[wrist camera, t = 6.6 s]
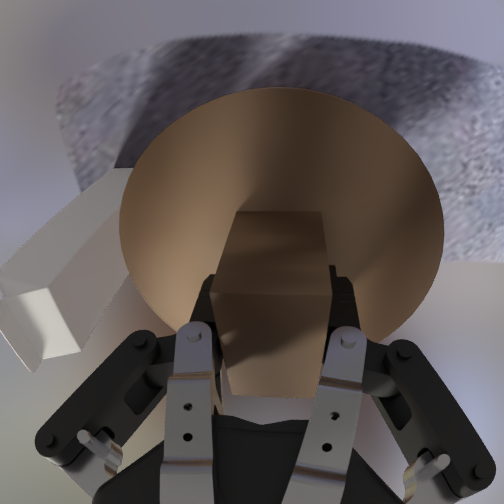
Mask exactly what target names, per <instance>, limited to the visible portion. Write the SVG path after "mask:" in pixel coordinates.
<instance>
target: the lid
mask: <svg viewBox="0 0 504 504" xmlns="http://www.w3.org/2000/svg"><path fill="white" fill-rule="evenodd" d="M119 235H120V243H121V249H122V253H123V257H124V260H125V264H126V267H127V269H128V271H129V273H130V276H131V278H132V280H133V282H134V284H135V286H136V287H137V289H138V291H139V292H140V294H141V295H142V297H143V298H144V299H145V301H146V302H147V303H148V305H149V306H150V307H151V308H152V310H154V312H155V313H156V314H157V315H158V316H159V317H160V318H161V319H162V320H163V321H164V322H166V323H167V324H168V325H169V326H170V327H171V328H173V329H174V330H175V331H177V332H178V330H179V329H180V328H181V327H182V326H183V325H184V324H186V323H189V320H190V317H191V314H192V312H193V309H194V306H195V303H196V300H197V298H198V295H199V292H200V289H201V286H202V284H203V281H204V280H205V279H206V278H207V277H208V276H209V275H210V274H215V276H214V280H213V283H212V286H211V289H210V292H209V293H210V298H211V303H212V308H213V313H214V317H215V322H216V326H217V331H218V335H219V340H220V344H221V349H222V353H223V357H224V362H225V366H226V370H227V374H228V378H229V383H230V387H231V391H232V394H233V395H246V396H260V397H280V398H315V394H316V389H317V385H318V379H319V374H320V369H321V364H322V358H323V352H324V347H325V341H326V335H327V329H328V322H329V316H330V309H331V302H332V288H331V279H330V271H329V265H335V267H336V274H337V277H347V278H348V279H349V280H350V282H351V283H352V284H353V289H354V295H355V299H356V305H357V310H358V316H359V322H360V328H361V331H362V332H363V333H364V334H365V336H366V337H367V338H368V339H369V340H371V341H373V342H375V343H378V342H379V341H381V340H383V339H384V338H386V337H387V336H389V335H390V334H391V333H392V332H394V331H395V330H396V329H397V328H398V327H400V326H401V325H402V324H403V323H404V322H405V321H406V320H407V319H408V318H409V317H410V316H411V315H412V314H413V313H414V312H415V310H416V309H417V308H418V306H419V305H420V304H421V302H422V301H423V300H424V298H425V296H426V295H427V293H428V291H429V289H430V288H431V286H432V284H433V281H434V279H435V276H436V274H437V271H438V269H439V265H440V261H441V257H442V253H443V243H444V220H443V212H442V207H441V203H440V199H439V195H438V192H437V190H436V187H435V185H434V182H433V180H432V177H431V175H430V173H429V172H428V170H427V168H426V167H425V165H424V163H423V162H422V160H421V159H420V157H419V156H418V154H417V153H416V152H415V151H414V150H413V148H412V147H411V146H410V145H409V144H408V143H407V142H406V140H405V139H404V138H403V137H402V136H401V135H399V134H398V133H397V132H396V131H395V130H393V129H392V128H391V127H390V126H389V125H387V124H386V123H385V122H384V121H382V120H381V119H380V118H378V117H377V116H375V115H374V114H372V113H370V112H369V111H367V110H365V109H363V108H362V107H360V106H358V105H356V104H354V103H352V102H350V101H347V100H345V99H342V98H339V97H337V96H334V95H331V94H329V93H324V92H320V91H315V90H310V89H305V88H296V87H264V88H255V89H247V90H243V91H239V92H235V93H231V94H228V95H224V96H221V97H219V98H217V99H214V100H212V101H210V102H207V103H205V104H203V105H201V106H199V107H197V108H195V109H193V110H191V111H190V112H188V113H187V114H185V115H184V116H182V117H181V118H179V119H178V120H176V121H175V122H173V123H172V124H170V125H169V126H168V127H167V128H166V129H165V130H164V131H163V132H161V133H160V134H159V135H158V136H157V137H156V138H155V139H154V140H153V141H152V142H151V144H150V145H149V146H148V147H147V149H146V150H145V151H144V152H143V154H142V155H141V156H140V158H139V159H138V161H137V163H136V165H135V167H134V168H133V170H132V172H131V174H130V176H129V178H128V181H127V184H126V187H125V190H124V193H123V196H122V202H121V207H120V213H119Z"/></svg>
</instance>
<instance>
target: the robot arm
mask: <svg viewBox="0 0 504 504" xmlns="http://www.w3.org/2000/svg"><path fill="white" fill-rule="evenodd" d="M329 271H330V279H331V288H332V302H331V309H330V316H329V322H328V329H327V335H326V341H325V347H324V352H323V358H322V363H324V368H323V372H322V376H321V379H320V382H319V386H318V390H317V394H316V398H315V401H314V405H313V409H312V412H311V416H310V419H309V420H288V421H282V422H277V423H272V424H265V425H259V424H256V423H253V422H249V421H246V420H243V419H240V418H237V417H234V416H227V415H225V414H224V407H223V389H222V372H221V366H222V361H223V359H224V357H223V353H222V349H221V344H220V340H219V335H218V331H217V326H216V322H215V317H214V313H213V308H212V303H211V298H210V293H209V292H210V289H211V286H212V283H213V280H214V276H215V274H210V275H209V276H208V277H207V278H206V279H205V280H204V281H203V284H202V286H201V289H200V292H199V295H198V298H197V300H196V303H195V306H194V309H193V312H192V314H191V317H190V320H189V323H186V324H184V325H183V326H182V327H181V328H180V329H179V330H178V332H177V334H174V335H171V336H166V337H159V338H156V336H155V334H154V333H153V332H151V331H148V330H138V331H135V332H133V333H132V334H130V335H129V336H128V337H127V338H126V339H125V340H124V341H123V342H122V343H121V344H120V345H119V346H118V347H117V348H116V349H115V350H114V351H113V352H112V353H111V354H110V356H108V358H107V359H106V360H105V361H104V362H103V363H102V364H101V365H100V366H99V367H98V368H97V369H96V370H95V371H94V372H93V373H92V374H91V375H90V376H89V377H88V378H87V379H86V380H85V381H84V382H83V383H82V384H81V386H80V387H79V388H78V389H77V390H76V391H75V392H74V393H73V394H72V395H71V396H70V397H69V398H68V399H67V400H66V401H65V402H64V403H63V405H62V406H61V407H60V408H59V409H58V410H57V411H56V412H55V413H54V414H53V415H52V416H51V417H50V419H49V420H48V421H47V422H46V423H45V424H44V425H43V426H42V427H41V428H40V429H39V431H38V432H37V434H36V436H35V447H36V449H37V451H38V452H39V454H41V455H42V456H44V457H45V458H46V459H48V460H49V461H51V462H52V463H53V464H55V465H56V466H58V467H59V468H61V469H62V470H64V471H65V472H66V473H67V474H68V475H69V476H70V477H71V478H72V479H73V480H74V481H75V482H76V483H77V484H78V485H79V486H80V487H81V488H82V489H83V490H84V491H85V492H86V493H88V494H89V495H90V496H91V497H92V498H93V501H92V504H454V503H456V502H458V501H460V500H463V499H465V498H467V497H469V496H471V495H473V494H475V493H477V492H479V491H482V490H483V489H485V488H487V487H488V486H489V485H490V484H491V483H492V481H493V479H494V477H495V474H496V465H495V462H494V460H493V458H492V456H491V455H490V453H489V452H488V450H487V448H486V446H485V445H484V443H483V442H482V440H481V438H480V437H479V435H478V434H477V432H476V430H475V429H474V427H473V426H472V424H471V423H470V421H469V419H468V418H467V416H466V415H465V413H464V412H463V410H462V409H461V407H460V406H459V404H458V403H457V401H456V400H455V399H454V397H453V396H452V394H451V392H450V391H449V390H448V388H447V387H446V385H445V384H444V382H443V381H442V380H441V378H440V377H439V375H438V374H437V372H436V371H435V370H434V368H433V367H432V366H431V364H430V363H429V361H428V360H427V359H426V357H425V356H424V355H423V353H422V352H421V350H420V349H419V348H418V346H417V345H416V344H414V343H413V342H411V341H408V340H403V339H400V340H395V341H393V342H392V343H391V344H390V345H389V346H387V345H383V344H378V343H375V342H373V341H371V340H369V339H368V338H367V337H366V336H365V334H364V333H363V332H362V331H361V328H360V322H359V316H358V310H357V305H356V299H355V295H354V289H353V284H352V283H351V282H350V280H349V279H348V278H347V277H337V274H336V267H335V265H329ZM166 393H167V398H166V415H165V436H164V440H163V441H162V442H160V443H159V444H158V445H156V446H155V447H154V448H153V449H151V450H150V451H149V452H147V453H146V454H145V455H143V456H142V457H140V458H139V459H138V460H136V461H135V462H134V463H132V464H131V465H130V466H128V467H126V468H125V469H124V470H122V471H121V472H120V473H118V474H117V469H118V467H119V466H120V465H121V463H122V458H123V453H122V449H121V447H122V446H123V445H124V444H125V443H126V442H127V440H128V439H129V438H130V437H131V436H132V434H133V433H134V432H135V431H136V430H137V428H138V427H139V426H140V425H141V424H142V422H143V421H144V420H145V419H146V418H147V416H148V415H149V414H150V413H151V412H152V410H153V409H154V408H155V407H156V405H157V404H158V403H159V402H160V401H161V399H162V398H163V397H164V396H165V395H166ZM362 393H366V394H370V395H371V397H372V399H373V400H374V402H375V404H376V406H377V408H378V409H379V411H380V413H381V415H382V417H383V418H384V420H385V422H386V424H387V425H388V427H389V429H390V430H391V433H392V435H393V436H394V438H395V440H396V442H397V444H398V446H399V447H400V449H401V451H402V453H403V455H404V457H405V458H406V460H407V462H408V464H409V466H408V467H407V468H406V470H405V472H404V475H403V483H404V486H405V496H404V499H403V501H402V500H401V499H400V498H399V497H398V496H397V495H396V494H395V493H394V492H393V491H392V490H391V489H390V488H389V487H388V486H387V485H386V484H385V482H384V481H383V480H382V479H381V478H380V477H379V476H378V475H377V474H376V473H375V471H373V469H372V468H371V467H370V466H369V465H368V464H367V463H366V462H365V461H364V460H363V458H362V457H361V456H360V455H359V454H358V453H357V452H356V450H354V448H353V442H354V437H355V432H356V427H357V422H358V416H359V411H360V404H361V399H362Z"/></svg>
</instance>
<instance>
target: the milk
mask: <svg viewBox="0 0 504 504" xmlns="http://www.w3.org/2000/svg"><path fill="white" fill-rule="evenodd" d="M132 170H133V168H113V169H112V170H110V171H109V172H108V173H106V174H105V175H104V176H103V177H101V178H100V179H99V180H97V181H96V182H95V183H93V184H92V185H91V186H90V187H88V188H87V189H86V190H85V191H83V192H82V193H81V194H80V195H79V196H77V197H76V198H75V199H74V200H73V201H71V202H70V203H69V204H68V205H67V206H65V207H64V208H63V209H62V210H61V211H60V212H59V213H57V214H56V215H55V216H54V217H53V218H52V219H51V220H50V221H48V222H47V223H46V224H45V225H44V226H43V227H42V228H41V229H40V230H39V231H38V232H36V233H35V234H34V235H33V236H32V237H31V238H30V239H29V240H28V241H27V242H26V243H25V244H24V245H23V246H22V247H21V248H20V249H19V250H18V251H17V252H16V253H15V254H14V255H13V256H12V257H11V258H10V259H9V260H8V261H7V262H6V263H5V265H3V267H2V268H1V269H0V292H1V294H2V297H3V298H2V300H1V301H0V331H1V333H2V334H3V336H4V337H5V339H6V340H7V342H8V343H9V344H10V346H11V347H12V348H13V350H14V351H15V353H16V354H17V355H18V357H19V358H20V359H21V361H22V362H23V363H24V365H25V366H26V367H27V368H28V370H29V371H30V372H32V373H33V372H35V371H36V369H37V368H38V366H39V364H40V363H41V361H42V360H43V359H46V358H51V357H57V356H61V355H66V354H71V353H76V352H80V351H82V349H83V348H84V346H85V344H86V342H87V341H88V339H89V337H90V335H91V333H92V332H93V330H94V328H95V327H96V325H97V323H98V322H99V320H100V318H101V317H102V315H103V313H104V312H105V310H106V308H107V307H108V305H109V304H110V302H111V300H112V299H113V297H114V296H115V294H116V292H117V291H118V289H119V288H120V286H121V284H122V283H123V281H124V280H125V278H126V277H127V275H128V274H129V271H128V269H127V267H126V264H125V260H124V257H123V253H122V249H121V243H120V235H119V213H120V207H121V202H122V196H123V193H124V190H125V187H126V184H127V181H128V178H129V176H130V174H131V172H132Z"/></svg>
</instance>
